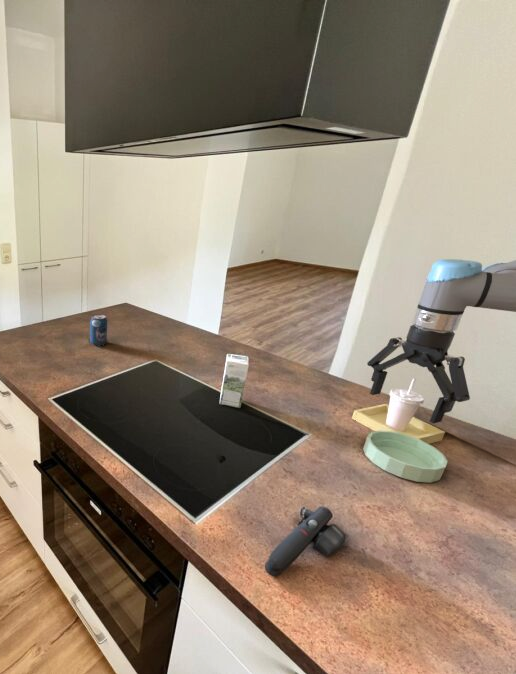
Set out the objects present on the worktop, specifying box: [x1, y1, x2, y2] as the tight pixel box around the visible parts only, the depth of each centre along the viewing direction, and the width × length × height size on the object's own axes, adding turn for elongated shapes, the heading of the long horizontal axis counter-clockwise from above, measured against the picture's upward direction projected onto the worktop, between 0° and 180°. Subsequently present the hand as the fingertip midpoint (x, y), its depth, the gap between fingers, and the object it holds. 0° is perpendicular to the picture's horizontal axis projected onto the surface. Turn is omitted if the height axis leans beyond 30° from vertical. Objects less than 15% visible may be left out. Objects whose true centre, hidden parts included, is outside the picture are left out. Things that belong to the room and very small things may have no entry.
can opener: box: [264, 506, 347, 578], centre depth 61 cm, size 18×7×6 cm, turn 118°
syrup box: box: [219, 353, 250, 409], centre depth 104 cm, size 6×6×14 cm
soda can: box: [89, 313, 108, 347], centre depth 148 cm, size 7×7×12 cm
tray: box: [351, 403, 446, 445], centre depth 93 cm, size 14×12×3 cm
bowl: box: [362, 430, 449, 483], centre depth 81 cm, size 13×13×4 cm
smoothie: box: [386, 377, 425, 431], centre depth 90 cm, size 6×6×14 cm
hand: (403, 406), depth 91 cm, fingers open, 13 cm apart
